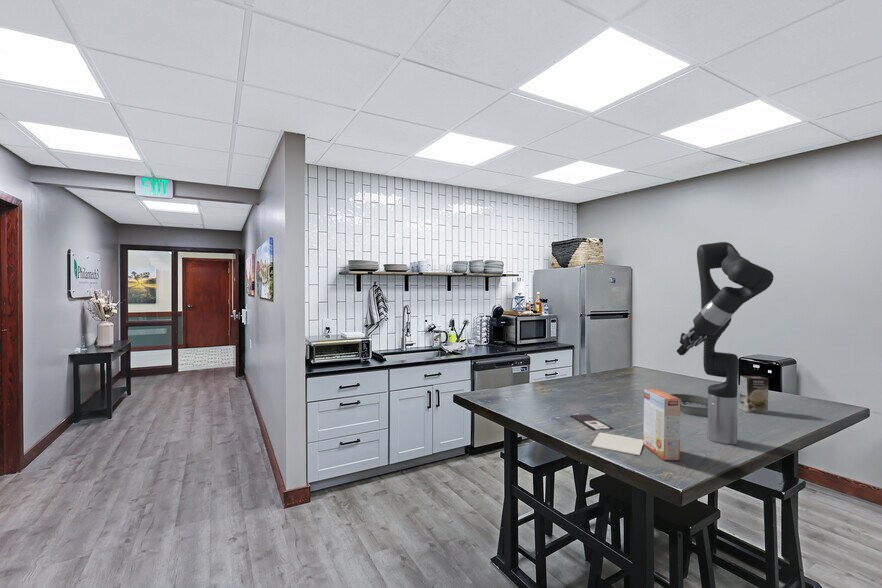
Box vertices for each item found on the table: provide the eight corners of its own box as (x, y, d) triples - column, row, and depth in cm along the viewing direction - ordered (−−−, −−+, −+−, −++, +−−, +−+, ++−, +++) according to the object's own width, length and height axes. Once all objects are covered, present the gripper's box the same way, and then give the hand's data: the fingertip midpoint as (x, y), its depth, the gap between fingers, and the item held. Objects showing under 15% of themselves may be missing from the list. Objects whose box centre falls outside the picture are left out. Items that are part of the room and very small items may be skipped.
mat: (644, 441, 156) (644, 440, 156) (639, 455, 143) (639, 454, 143) (599, 433, 164) (599, 432, 164) (591, 446, 151) (591, 445, 151)
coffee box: (747, 412, 192) (747, 378, 192) (738, 408, 199) (739, 375, 199) (768, 413, 192) (769, 378, 191) (759, 409, 198) (759, 375, 198)
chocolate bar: (588, 414, 188) (612, 427, 170) (588, 416, 188) (612, 429, 170) (570, 415, 186) (592, 428, 168) (570, 417, 186) (592, 431, 168)
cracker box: (681, 461, 138) (682, 398, 138) (663, 461, 138) (663, 398, 138) (659, 445, 152) (659, 388, 152) (642, 445, 152) (643, 388, 152)
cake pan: (726, 420, 182) (727, 409, 182) (663, 412, 193) (663, 403, 193) (717, 405, 205) (717, 396, 204) (661, 399, 215) (661, 391, 215)
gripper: (716, 307, 137) (683, 343, 147) (691, 309, 131) (659, 346, 141) (735, 323, 131) (700, 359, 142) (709, 326, 126) (675, 363, 136)
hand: (679, 353), depth 141 cm, fingers closed
